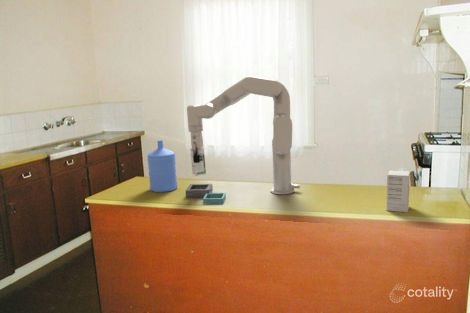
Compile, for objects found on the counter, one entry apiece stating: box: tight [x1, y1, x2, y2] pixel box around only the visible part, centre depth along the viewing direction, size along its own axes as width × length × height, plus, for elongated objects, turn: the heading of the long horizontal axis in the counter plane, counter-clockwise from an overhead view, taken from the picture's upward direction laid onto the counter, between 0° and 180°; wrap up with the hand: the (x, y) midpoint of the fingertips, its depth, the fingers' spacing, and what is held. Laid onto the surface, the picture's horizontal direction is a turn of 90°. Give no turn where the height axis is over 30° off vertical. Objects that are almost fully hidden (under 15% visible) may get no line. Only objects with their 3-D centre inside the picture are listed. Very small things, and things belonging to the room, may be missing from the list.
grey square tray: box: [185, 183, 214, 199], centre depth 235 cm, size 13×13×4 cm
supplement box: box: [386, 170, 411, 213], centre depth 196 cm, size 10×9×17 cm
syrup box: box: [190, 147, 207, 177], centre depth 232 cm, size 6×6×14 cm
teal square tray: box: [202, 192, 227, 205], centre depth 223 cm, size 10×10×2 cm
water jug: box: [147, 140, 178, 193], centre depth 247 cm, size 16×16×28 cm
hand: (198, 160), depth 232 cm, fingers closed on syrup box, 7 cm apart
